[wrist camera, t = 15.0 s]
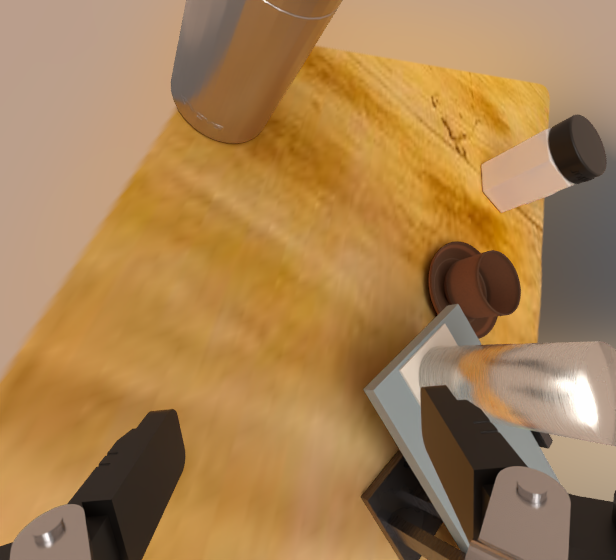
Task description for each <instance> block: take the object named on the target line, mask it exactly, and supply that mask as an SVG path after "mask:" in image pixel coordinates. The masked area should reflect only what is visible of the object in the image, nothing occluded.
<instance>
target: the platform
mask: <svg viewBox="0 0 616 560" xmlns="http://www.w3.org/2000/svg"><path fill="white" fill-rule="evenodd" d="M461 345H481V343H480V341H479V339H478V338H477V336H476V334H475V332H474V331H473V329H472V327H471V325H470V323H469V322H468V320H467V318H466V316H465V315H464V313H463V311H462V309H461V308H460V306H459V304H454V305H448V306H446V307H445V308H444V309H443V310H442V311H441V312H440V313H439V314H438V315H437V316H436V317H435V318H434V319H433V320H432V321H431V322H430V323H429V324H428V325H427V326H426V327H425V328H424V329H423V330H422V331H421V332H420V333H419V334H418V335H417V336H416V337H415V338H414V339H413V340H412V341H411V342H410V343H409V344H408V345H407V346H406V347H405V348H404V349H403V350H402V351H401V352H400V353H399V354H398V355H397V356H396V357H395V358H394V359H393V360H392V361H391V362H390V363H389V364H388V365H387V366H386V367H385V368H384V369H383V370H382V371H381V372H380V373H379V374H378V375H377V376H376V377H375V378H374V379H373V380H372V381H371V382H370V383H369V384H368V385H367V386H366V387H365V388H364V389H363V390H364V391H365V393H366V395H367V396H368V398H369V400H370V401H371V403H372V405H373V406H374V408H375V410H376V411H377V413H378V415H379V416H380V418H381V420H382V421H383V423H384V425H385V426H386V428H387V429H388V431H389V433H390V434H391V436H392V438H393V439H394V441H395V443H396V444H397V446H398V448H399V449H400V451H401V453H402V454H403V456H404V458H405V459H406V461H407V462H408V464H409V466H410V467H411V469H412V471H413V472H414V474H415V476H416V477H417V479H418V481H419V482H420V484H421V486H422V487H423V489H424V491H425V492H426V494H427V496H428V497H429V499H430V500H431V502H432V504H433V505H434V507H435V509H436V510H437V512H438V514H439V515H440V517H441V519H442V520H443V522H444V524H445V525H446V527H447V529H448V530H449V532H450V534H451V535H452V537H453V538H454V540H455V542H456V543H457V545H458V547H459V548H460V550H461V551H462V552H464V553H466V554H467V550H468V547H469V545H470V544H469V542H468V540H467V537H466V535H465V533H464V531H463V529H462V527H461V525H460V522H459V520H458V518H457V516H456V514H455V512H454V509H453V507H452V505H451V503H450V501H449V499H448V496H447V494H446V492H445V490H444V488H443V486H442V483H441V481H440V479H439V477H438V475H437V473H436V471H435V468H434V466H433V464H432V462H431V460H430V458H429V455H428V453H427V451H426V448H425V445H424V442H423V437H422V429H421V400H420V387H419V368H420V364H421V361H422V359H423V357H424V356H425V354H426V353H427V352H428V351H429V350H430V349H432V348H434V347H437V346H461ZM493 425H494V426H495V427H496V428H497V430H498V432H500V433H501V434H502V436H503V437H504V438H505V439H506V441H507V442H508V443H509V444H510V446H511V447H512V448H513V449H514V450H515V452H516V453H517V454H518V455H519V457H520V458H521V459H522V460H523V462H524V463H525V464H526V465H527V466H528V467H529V468H532V469H536V470H538V471H541V472H543V473H545V474H547V475H549V476H550V477H552V478H553V479H555V480H556V481H557V482H559V481H558V479H557V477H556V475H555V474H554V472H553V470H552V468H551V466H550V465H549V463H548V461H547V460H546V458H545V456H544V454H543V452H542V450H541V449H540V447H539V445H538V443H537V442H536V440H535V438H534V436H533V435H532V433H531V431H530V430H526V429H521V428H515V427H510V426H505V425H499V424H494V423H493ZM559 483H560V482H559Z"/></svg>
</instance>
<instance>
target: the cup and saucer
mask: <svg viewBox="0 0 616 560" xmlns="http://www.w3.org/2000/svg"><path fill="white" fill-rule="evenodd" d="M429 292H430V297H431V300H432V303H433V306H434V308H435V310H436V312H437V314H439V313H440V312H441V311H442V310H443V309H444V308H445V307H446V306H448V305H454V304H459V306H460V308H461V309H462V311H463V313H464V315H465V316H466V318H467V320H468V322H469V323H470V325H471V327H472V329H473V331H474V332H475V334H476V336H477V338H482V337H484V336H485V335H487V334H488V333H489V332H490V331H491V330H492V328H493V326H494V325H495V323H496V320H497V317H498V316H503V315H509V314H512V313H513V312H514V311H515V310H516V309H517V307H518V305H519V302H520V296H521V288H520V282H519V278H518V275H517V272H516V270H515V268H514V266H513V264H512V263H511V261H510V260H509V259H508V258H507V257H506V256H505V255H504V254H502V253H501V252H498V251H494V250H492V251H487V252H484V253H480V252H479V251H478V250H476V249H475V248H474V247H472V246H471V245H469V244H466V243H464V242H451V243H448V244H446V245H445V246H443V247H442V248H440V249H439V250H438V252H437V253H436V254H435V256H434V258H433V260H432V262H431V266H430V270H429Z"/></svg>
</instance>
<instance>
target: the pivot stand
mask: <svg viewBox="0 0 616 560" xmlns="http://www.w3.org/2000/svg"><path fill="white" fill-rule="evenodd" d="M530 431H531V430H530ZM531 433H532V435H533V436H534V438H535V440H536V442H537V443H538V445H539V447H544V448H549V447H550V445H551V443H552V439H551V437H550V435H549V434H547V433H542V432H537V431H531ZM361 498H362V500H363V501H364V503H365V505H366V506H367V508H368V509H369V511H370V513H371V514H372V516H373V517H374V519H375V521H376V522H377V524H378V525H379V527H380V529H381V530H382V532H383V533H384V535H385V537H386V538H387V540H388V541H389V543H390V545H391V546H392V548H393V549H394V551H395V553H396V554H397V556H398V557H399V559H400V560H419V559H420V557H421V556H423V557H425V558H427V559H428V560H465V557H466V553H464V552H462V551H460V550H458V549H457V548H455V547H453V546H451V545H449V544H448V543H446V542H444V541H442V540H440V539H439V538H437V537H435V536H434V535H435V534H436V532H437V530H438V529H439V527H440V526H441V524H442V523H443V520H442V519H441V517H440V515H439V514H438V512H437V510H436V509H435V507H434V505H433V504H432V502H431V500H430V499H429V497H428V496H427V494H426V492H425V491H424V489H423V487H422V486H421V484H420V482H419V481H418V479H417V477H416V476H415V474H414V472H413V471H412V469H411V467H410V466H409V464H408V462H407V461H406V459H405V458H404V456H403V454H402V453H401V451H400V450H399V451H398V452H397V453H396V454H395V456H394V457H393V458H392V459H391V461H390V462H389V463H388V464H387V466H386V467H385V468H384V469H383V470H382V472H381V473H380V474H379V475H378V477H377V478H376V479H375V480H374V481H373V483H372V484H371V485H370V486H369V488H368V489H367V490H366V491H365V493H364V494H363V495H362V496H361Z"/></svg>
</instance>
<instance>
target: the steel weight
mask: <svg viewBox="0 0 616 560" xmlns="http://www.w3.org/2000/svg"><path fill="white" fill-rule="evenodd" d="M438 385H446V386H447V387H448V388H449V390H450V391H451V393H452V394H453V395H454V397H455V398H456V399H457V400H468V401H469V402H471V403H472V404H474V405H476V406H477V407H479V408H480V409H481V410H482V411H483V412H484V414H485V415H486V416H487V417H488V418H489V420H490V422H491V423H494V424H499V425H505V426H510V427H515V428H521V429H526V430H531V431H537V432H542V433H547V434H554V435H558V436H564V437H569V438H575V439H580V440H585V441H590V442H595V443H601V444H606V445H611V446H616V350H615V349H614V348H613V347H612V346H610V345H609V344H607V343H605V342H567V343H566V342H565V343H530V344H496V345H461V346H437V347H434V348H432V349H430V350H429V351H428V352H427V353H426V354H425V356H424V357H423V359H422V361H421V364H420V368H419V387H420V390H421V387H427V386H438Z"/></svg>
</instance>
